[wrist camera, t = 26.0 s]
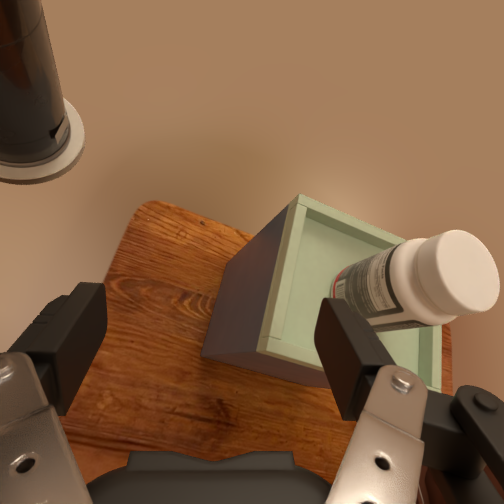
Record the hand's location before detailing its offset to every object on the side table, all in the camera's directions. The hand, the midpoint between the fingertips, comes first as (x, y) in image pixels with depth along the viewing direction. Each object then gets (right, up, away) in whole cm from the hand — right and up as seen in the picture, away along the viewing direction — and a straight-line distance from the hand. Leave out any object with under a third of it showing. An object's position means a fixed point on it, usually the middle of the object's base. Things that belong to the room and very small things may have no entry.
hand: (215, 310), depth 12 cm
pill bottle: (+9, -1, +11) cm, 14 cm away
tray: (+9, -1, +11) cm, 14 cm away
